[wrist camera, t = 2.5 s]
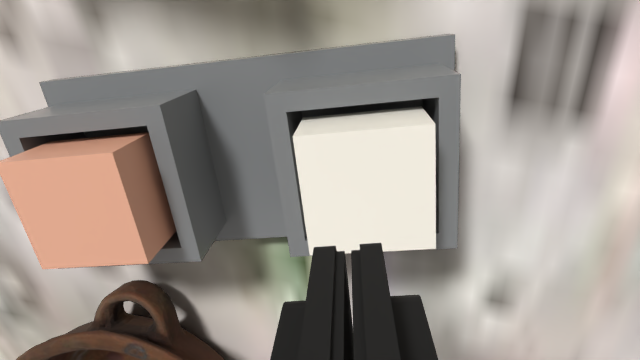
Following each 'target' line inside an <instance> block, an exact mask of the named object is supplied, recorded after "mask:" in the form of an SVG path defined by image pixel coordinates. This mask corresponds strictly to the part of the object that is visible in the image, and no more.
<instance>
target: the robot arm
mask: <svg viewBox="0 0 640 360" xmlns="http://www.w3.org/2000/svg"><path fill="white" fill-rule="evenodd" d="M351 259H352V300H353V326H352V316H351V306H350V297H349V287H348V277H347V268H346V258H345V251H337V249H336V246H323V247H314V249H313V256H312V263H311V269H310V276H309V283H308V290H307V297H306V301H291V302H285V303H284V304H283V307H282V311H281V315H280V320H279V324H278V328H277V333H276V337H275V342H274V346H273V350H272V355H271V359H270V360H438V357H437V354H436V350H435V347H434V343H433V339H432V336H431V332H430V329H429V325H428V321H427V318H426V314H425V311H424V307H423V303H422V300H421V297H420V296H419V295H406V296H390V292H389V286H388V280H387V274H386V268H385V262H384V256H383V250H382V244H381V243H368V244H360V250H351Z"/></svg>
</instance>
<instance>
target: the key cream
mask: <svg viewBox="0 0 640 360" xmlns="http://www.w3.org/2000/svg"><path fill="white" fill-rule="evenodd" d="M293 143H294V150H295V157H296V164H297V171H298V178H299V185H300V192H301V198H302V205H303V212H304V219H305V226H306V233H307V240H308V247H309V254H310V255H313V249H314V247H323V246H336V249H337V251H345V254H346V253H351V250H360V244H368V243H381V244H382V250H383V252H385V251H404V250H424V249H436V140H435V123H434V121H433V120H432V119H431V118H430V116H429V115H428V114H427V113H426V111H425V110H424V109H423V108H422V106H420V107H410V108H399V109H389V110H378V111H368V112H357V113H346V114H336V115H325V116H315V117H304V118H302V120H301V122H300V124H299V126H298V128H297V129H296V131H295V133H294V135H293Z"/></svg>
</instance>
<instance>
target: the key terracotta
mask: <svg viewBox="0 0 640 360" xmlns="http://www.w3.org/2000/svg"><path fill="white" fill-rule="evenodd" d="M0 175H1V177H2V180H3V182H4V184H5V186H6V188H7V191H8V193H9V195H10V197H11V200H12V202H13V204H14V206H15V209H16V211H17V213H18V215H19V218H20V220H21V222H22V224H23V227H24V229H25V231H26V233H27V236H28V238H29V240H30V242H31V244H32V247H33V249H34V251H35V253H36V256H37V258H38V260H39V262H40V265H41V267H42V269H54V268H74V267H93V266H112V265H132V264H148V263H149V262H150V261H151V260H152V259H153V258H154V256H155V255H156V254H157V253H158V252H159V251H160V249H161V248H162V247H163V246H164V245H165V244H166V242H167V241H168V240H169V239H170V238H171V237H172V235H173V234H174V233H175V232H176V231H177V230H176V227H175V223H174V220H173V216H172V213H171V209H170V206H169V202H168V199H167V195H166V192H165V188H164V185H163V181H162V178H161V174H160V171H159V167H158V163H157V160H156V156H155V153H154V149H153V146H152V142H151V139H150V135H149V132H145V133H134V134H123V135H113V136H102V137H92V138H81V139H71V140H60V141H50V142H47V143H45V144H42V145H40V146H37V147H35V148H32V149H30V150H27V151H24V152H22V153H19V154H17V155H14V156H12V157H9V158H7V159H4V160H2V161H0Z"/></svg>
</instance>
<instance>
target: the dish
mask: <svg viewBox="0 0 640 360" xmlns="http://www.w3.org/2000/svg"><path fill="white" fill-rule="evenodd" d="M124 301H132V302H135V303H138V304H139V305H141V306H143V307H144V308H145V309H146V310H147V311H148V312H149V313H150V315H151V316H152V318H153V319H152V318H148V317H143V316H137V315H131V314H128V313H126V312H125V311H124V307H123V302H124ZM16 360H224V359H223V358H222V357H221V356H220V355H219V354H218V353H217V352H216V351H215V350H214V349H212V348H211V347H210V346H209V345H207V344H206V343H205V342H203V341H202V340H200V339H199V338H197V337H196V336H194V335H193V334H191V333H189V332H188V331H186V330H184V329H183V328H181V326H180V323H179V320H178V317H177V313H176V310H175V307H174V305H173V303H172V301H171V299H170V298H169V296H168V295H167V294H166V292H165V291H164V290H163V289H162V288H160V287H159V286H157V285H156V284H153V283H151V282H148V281H143V280H136V281H131V282H128V283H126V284H124V285H122V286H121V287H119V288H118V289H116V290H115V291H113V292H112V293H110V294H109V295H108V296H106V297H105V298H104V299H103V300H102V302H101V303H100V305H99V307H98V309H97V311H96V315H95V318H94V321H93V322H90V323H87V324H85V325H82V326H80V327H77V328H76V329H74V330H72V331H70V332H68V333H66V334H64V335H61V336H58V337H54V338H52V339H50V340H48V341H46V342H43V343H41V344H39V345H36V346H34V347H33V348H31V349H29V350H28V351H26V352H25V353H24V354H22V355H21V356H20V357H18V358H17V359H16Z"/></svg>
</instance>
